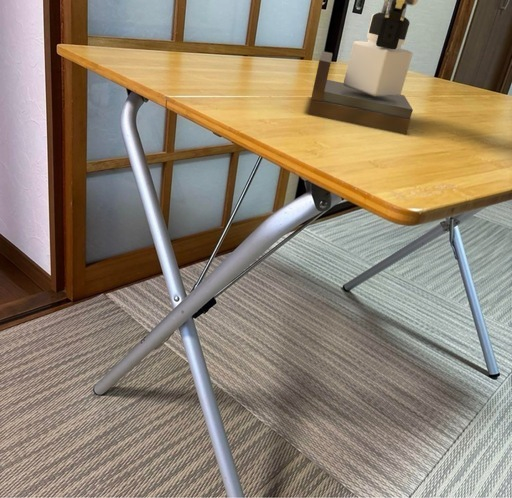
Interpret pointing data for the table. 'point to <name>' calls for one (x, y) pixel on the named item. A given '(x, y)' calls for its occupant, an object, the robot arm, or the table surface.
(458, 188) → the table surface
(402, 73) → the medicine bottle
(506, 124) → the table surface
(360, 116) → the l-shaped brown block
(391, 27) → the robot arm
